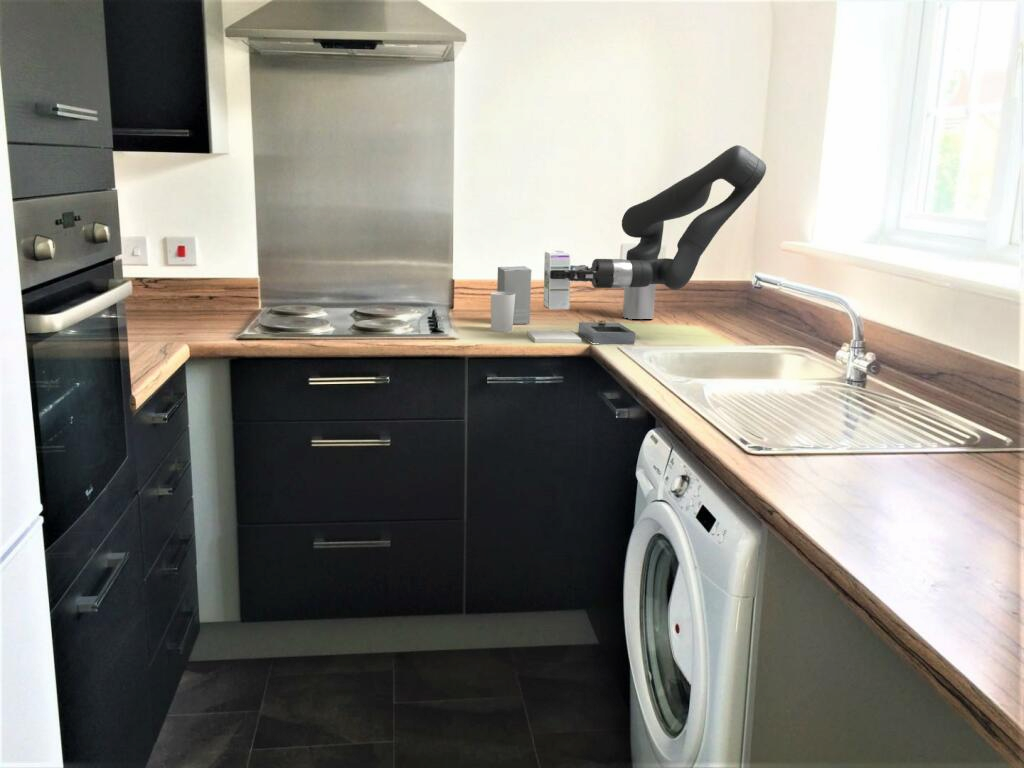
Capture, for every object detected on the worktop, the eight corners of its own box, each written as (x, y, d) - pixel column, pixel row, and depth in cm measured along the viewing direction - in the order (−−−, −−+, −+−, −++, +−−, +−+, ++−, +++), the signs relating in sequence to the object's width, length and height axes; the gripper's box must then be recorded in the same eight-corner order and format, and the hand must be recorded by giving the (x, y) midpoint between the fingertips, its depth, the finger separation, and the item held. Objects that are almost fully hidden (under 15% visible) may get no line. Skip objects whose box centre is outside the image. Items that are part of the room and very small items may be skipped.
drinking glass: (498, 327, 257) (500, 291, 254) (518, 330, 253) (520, 293, 251) (484, 330, 251) (485, 293, 249) (504, 333, 248) (505, 295, 245)
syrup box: (570, 309, 239) (572, 252, 236) (547, 309, 238) (549, 252, 235) (564, 306, 245) (566, 250, 242) (542, 306, 244) (544, 250, 240)
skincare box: (522, 320, 269) (525, 265, 265) (530, 324, 262) (533, 268, 259) (494, 321, 266) (496, 265, 263) (502, 325, 260) (504, 268, 256)
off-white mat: (526, 333, 248) (526, 330, 248) (570, 334, 250) (571, 330, 250) (535, 342, 237) (535, 338, 237) (581, 342, 239) (581, 339, 239)
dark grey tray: (578, 333, 253) (579, 318, 252) (617, 333, 254) (618, 318, 254) (592, 344, 237) (593, 328, 236) (634, 344, 239) (635, 329, 238)
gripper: (605, 256, 248) (542, 255, 245) (620, 261, 234) (554, 261, 231) (603, 284, 250) (541, 284, 247) (618, 291, 236) (553, 291, 233)
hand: (548, 273), depth 239 cm, fingers closed on syrup box, 6 cm apart
